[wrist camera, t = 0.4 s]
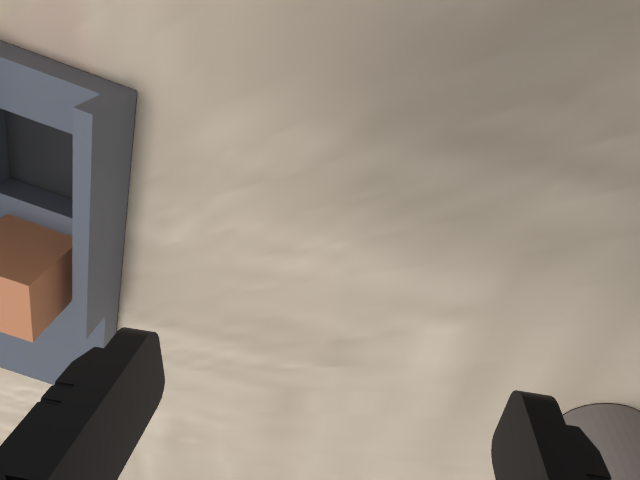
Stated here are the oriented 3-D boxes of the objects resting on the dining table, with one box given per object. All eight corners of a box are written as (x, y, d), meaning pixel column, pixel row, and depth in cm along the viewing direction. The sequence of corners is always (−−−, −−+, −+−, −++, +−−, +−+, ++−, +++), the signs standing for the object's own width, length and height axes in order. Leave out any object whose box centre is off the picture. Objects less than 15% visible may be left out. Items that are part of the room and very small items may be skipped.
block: (7, 213, 29) (-58, 256, 25) (80, 239, 29) (28, 286, 25) (12, 269, 32) (-45, 316, 28) (79, 292, 32) (32, 342, 28)
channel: (-17, 34, 25) (-90, 48, 21) (137, 91, 25) (92, 114, 22) (16, 350, 40) (-22, 390, 37) (112, 381, 41) (83, 424, 37)
